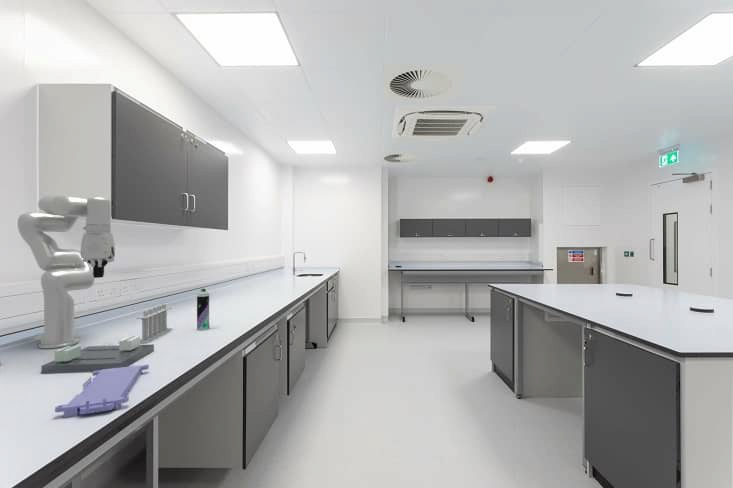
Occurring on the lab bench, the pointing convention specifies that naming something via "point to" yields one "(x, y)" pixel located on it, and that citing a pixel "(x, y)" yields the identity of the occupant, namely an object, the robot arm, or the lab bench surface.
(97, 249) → the robot arm
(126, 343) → the block
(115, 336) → the lab bench surface
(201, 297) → the spray can
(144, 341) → the test tube rack
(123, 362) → the dark grey flat board
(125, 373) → the computer part
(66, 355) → the fader green
